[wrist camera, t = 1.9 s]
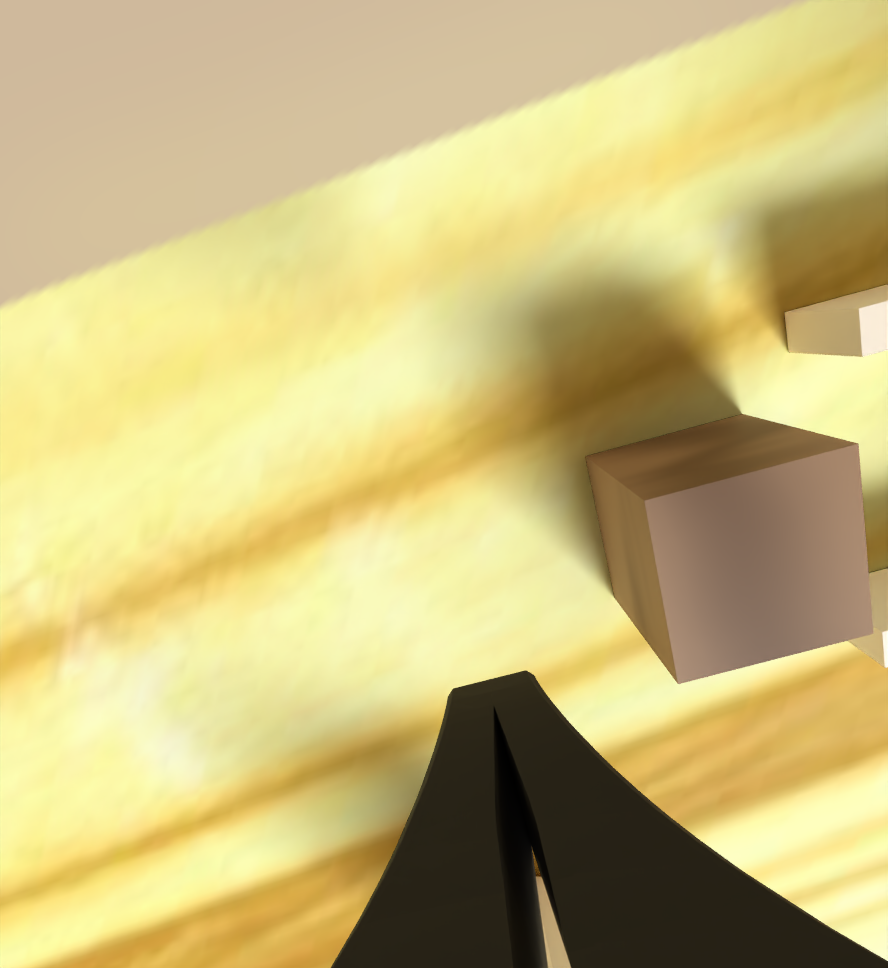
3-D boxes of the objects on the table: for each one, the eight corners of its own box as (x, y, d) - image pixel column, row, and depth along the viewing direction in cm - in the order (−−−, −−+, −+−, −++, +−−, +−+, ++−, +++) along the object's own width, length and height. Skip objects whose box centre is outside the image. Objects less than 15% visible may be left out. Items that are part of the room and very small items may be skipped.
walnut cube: (740, 413, 18) (858, 444, 13) (759, 558, 19) (873, 633, 14) (584, 455, 18) (644, 500, 13) (613, 596, 19) (678, 683, 15)
